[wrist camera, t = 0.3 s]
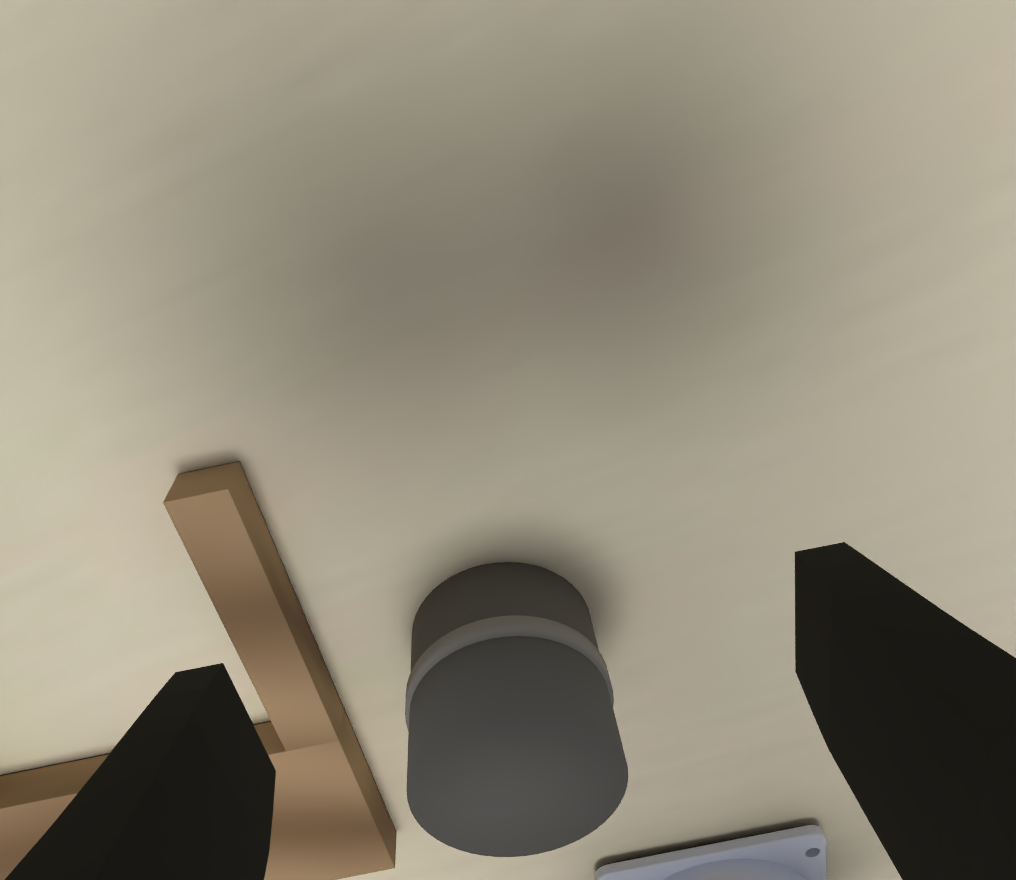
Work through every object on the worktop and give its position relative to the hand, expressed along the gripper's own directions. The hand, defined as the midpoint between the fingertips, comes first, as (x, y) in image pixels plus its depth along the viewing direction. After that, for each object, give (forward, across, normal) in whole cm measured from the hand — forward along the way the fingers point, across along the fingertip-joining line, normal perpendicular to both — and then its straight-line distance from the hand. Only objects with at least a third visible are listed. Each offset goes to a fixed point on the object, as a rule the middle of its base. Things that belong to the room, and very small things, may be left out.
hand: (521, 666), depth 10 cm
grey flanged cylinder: (+10, +1, +8) cm, 13 cm away
